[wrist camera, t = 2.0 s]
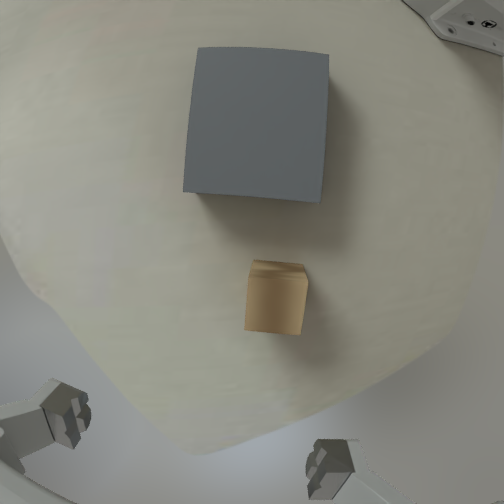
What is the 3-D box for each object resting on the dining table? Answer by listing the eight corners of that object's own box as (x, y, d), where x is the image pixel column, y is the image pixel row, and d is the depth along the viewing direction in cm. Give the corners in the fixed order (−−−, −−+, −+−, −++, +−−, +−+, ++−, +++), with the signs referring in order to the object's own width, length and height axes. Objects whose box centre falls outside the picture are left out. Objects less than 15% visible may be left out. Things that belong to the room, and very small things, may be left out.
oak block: (302, 264, 31) (308, 282, 25) (296, 309, 32) (300, 335, 26) (253, 259, 31) (248, 276, 25) (249, 304, 32) (244, 330, 26)
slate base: (322, 69, 26) (329, 54, 22) (314, 200, 29) (320, 203, 25) (206, 62, 27) (198, 47, 23) (194, 191, 30) (182, 192, 26)
